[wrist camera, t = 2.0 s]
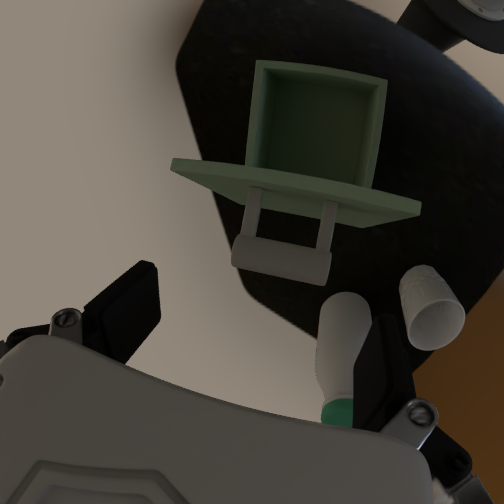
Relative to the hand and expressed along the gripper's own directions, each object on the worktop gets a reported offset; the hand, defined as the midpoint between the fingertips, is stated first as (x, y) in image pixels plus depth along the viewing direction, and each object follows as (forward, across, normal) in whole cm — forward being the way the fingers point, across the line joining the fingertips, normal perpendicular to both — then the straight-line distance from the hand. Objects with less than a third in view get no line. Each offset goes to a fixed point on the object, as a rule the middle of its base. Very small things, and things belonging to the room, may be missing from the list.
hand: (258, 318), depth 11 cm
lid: (+11, 0, -2) cm, 12 cm away
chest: (+28, 0, -7) cm, 28 cm away
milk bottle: (+28, -9, +17) cm, 34 cm away
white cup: (+28, -19, +10) cm, 35 cm away
